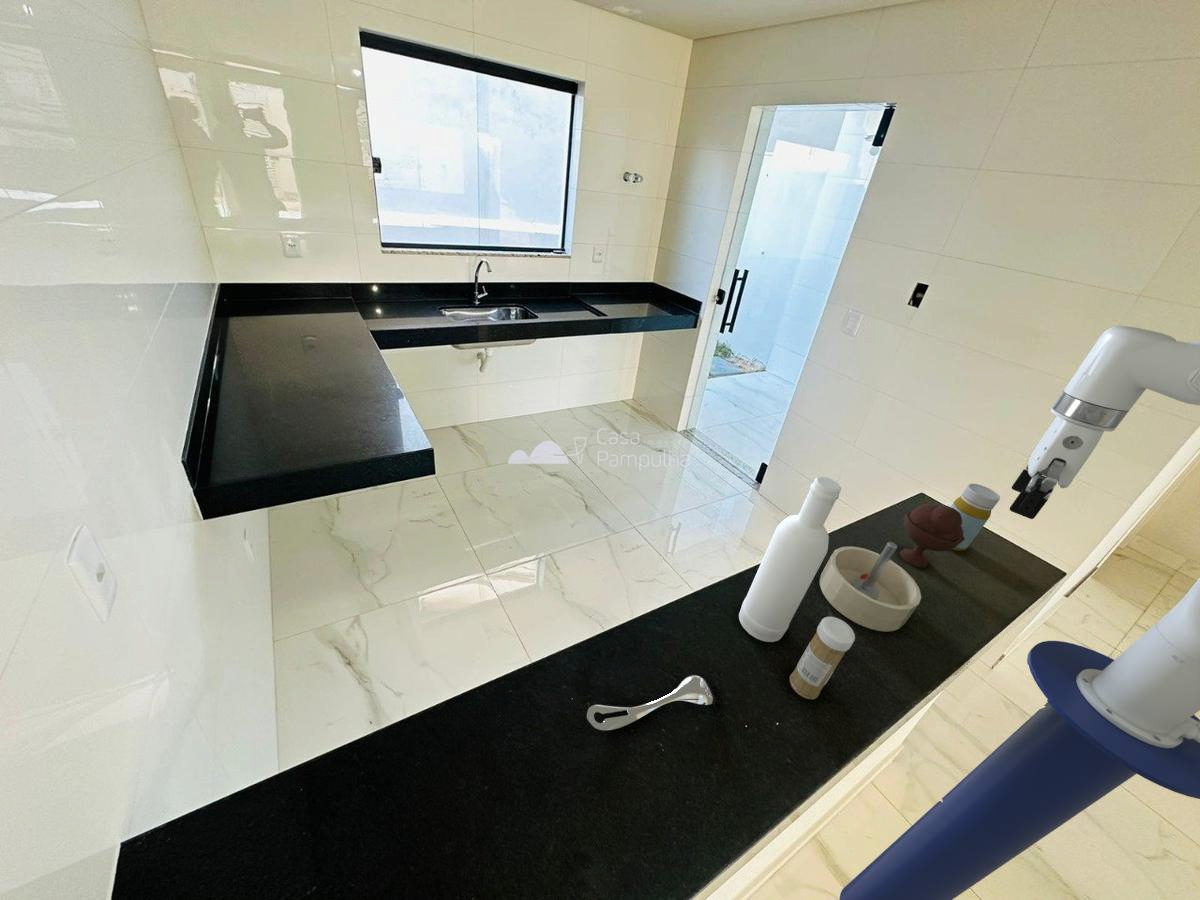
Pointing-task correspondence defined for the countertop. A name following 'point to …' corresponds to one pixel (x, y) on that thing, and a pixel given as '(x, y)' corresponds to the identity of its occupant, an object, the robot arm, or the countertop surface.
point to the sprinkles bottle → (821, 657)
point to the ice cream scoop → (654, 703)
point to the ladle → (875, 573)
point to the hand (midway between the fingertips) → (1021, 502)
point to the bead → (863, 576)
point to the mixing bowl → (881, 614)
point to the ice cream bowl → (931, 531)
